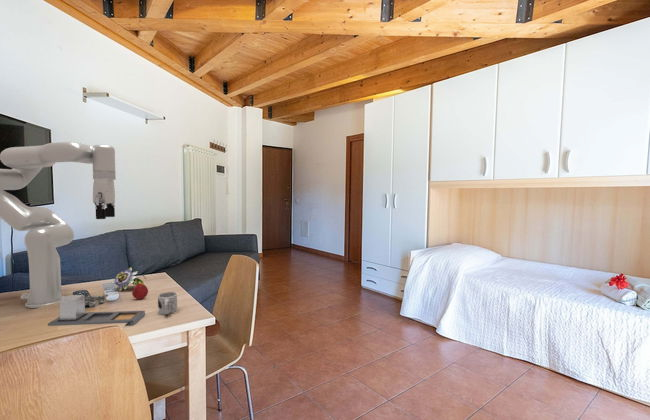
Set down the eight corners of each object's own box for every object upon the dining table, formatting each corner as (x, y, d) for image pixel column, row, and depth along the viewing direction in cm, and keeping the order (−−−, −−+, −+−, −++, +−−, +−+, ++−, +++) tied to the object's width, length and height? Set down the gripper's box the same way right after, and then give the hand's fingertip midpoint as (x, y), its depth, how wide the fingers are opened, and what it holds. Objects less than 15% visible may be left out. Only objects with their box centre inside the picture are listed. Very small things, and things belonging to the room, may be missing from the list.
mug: (159, 309, 124) (159, 292, 124) (177, 307, 126) (177, 291, 126) (155, 319, 115) (155, 301, 114) (175, 316, 117) (175, 299, 117)
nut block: (60, 322, 108) (59, 300, 107) (69, 316, 113) (69, 295, 112) (76, 322, 108) (75, 299, 108) (85, 316, 113) (84, 294, 113)
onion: (151, 298, 136) (150, 280, 135) (142, 303, 130) (141, 284, 130) (138, 297, 136) (138, 279, 136) (129, 302, 131) (128, 283, 130)
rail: (48, 328, 105) (47, 323, 105) (66, 317, 114) (66, 313, 114) (133, 325, 109) (133, 320, 109) (144, 314, 118) (144, 310, 118)
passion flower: (121, 302, 145) (104, 282, 143) (137, 290, 155) (121, 272, 154) (138, 290, 143) (120, 270, 141) (153, 279, 153) (137, 260, 151)
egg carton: (109, 304, 129) (109, 294, 129) (91, 310, 122) (91, 300, 122) (90, 301, 132) (90, 291, 132) (71, 307, 125) (71, 297, 125)
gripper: (102, 176, 134) (103, 216, 135) (83, 174, 117) (85, 220, 118) (122, 177, 136) (123, 216, 137) (106, 175, 119) (108, 219, 120)
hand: (105, 217), depth 128 cm, fingers open, 9 cm apart
